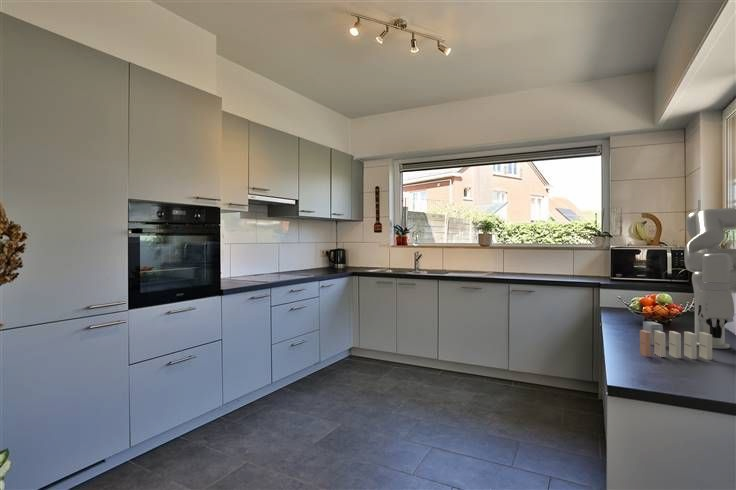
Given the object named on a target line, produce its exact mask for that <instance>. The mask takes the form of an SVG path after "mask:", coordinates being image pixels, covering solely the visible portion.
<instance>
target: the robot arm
mask: <svg viewBox="0 0 736 490" xmlns="http://www.w3.org/2000/svg"><path fill="white" fill-rule="evenodd" d="M685 226H686V230H687V233H688V235H689V237H690V240H689V241H688V243H687V244H686V245H685V248H684V251H683V252H684V253H683V254H684V266H685V268H686V270H687V271H689V272H691V273H692V275H691V282H692V287H693V289H692V290H693V295H694V334H696V347H697V346H698V347H699V332H705V333H708V334H711V335H712V349H718V350H720V349H721V350H723V349H724V350H725V349H726V350H727V349H730V348H731V345H730V344H729V343H727V342H726V341H725V339H726V336H725V335H726V333H725V332H726V331H725V325H726V324H727V323H728V324H729V323H733V322H734V317H735V304H734V298H733V294H736V248H721V247H720V244H721V243H722V242H723V241H724V240H725V231H729V230H730V231H732V230H734V231H735V230H736V207H735V208H733V207H730V208H722V207H721V208H707V209H703V210H701V211H696V212H695V211H694V212H691V213H689V214H687V216H686V219H685Z"/></svg>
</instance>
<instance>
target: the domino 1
mask: <svg viewBox="0 0 736 490" xmlns="http://www.w3.org/2000/svg"><path fill="white" fill-rule="evenodd" d="M651 351H652V350H651V344H650V332H648V331H645V330H643V329H640V330H639V354H640V355H641V356H643V355H644V356H643V357H645V356H646V357H645V358H647V357H648V358H651V356H652V355H651Z"/></svg>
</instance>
